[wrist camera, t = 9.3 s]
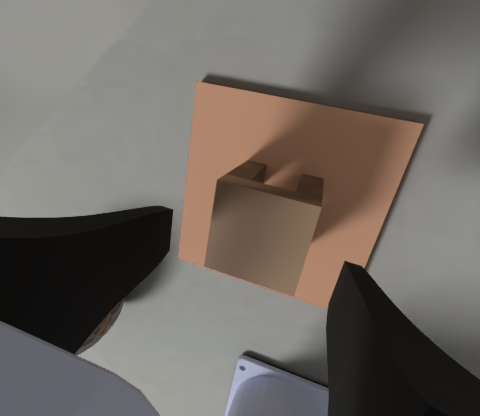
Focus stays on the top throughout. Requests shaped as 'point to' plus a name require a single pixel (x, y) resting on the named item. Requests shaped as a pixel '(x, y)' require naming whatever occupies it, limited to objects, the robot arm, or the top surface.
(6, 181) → the top surface
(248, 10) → the top surface
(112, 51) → the top surface
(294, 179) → the mat
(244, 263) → the notched brown block
